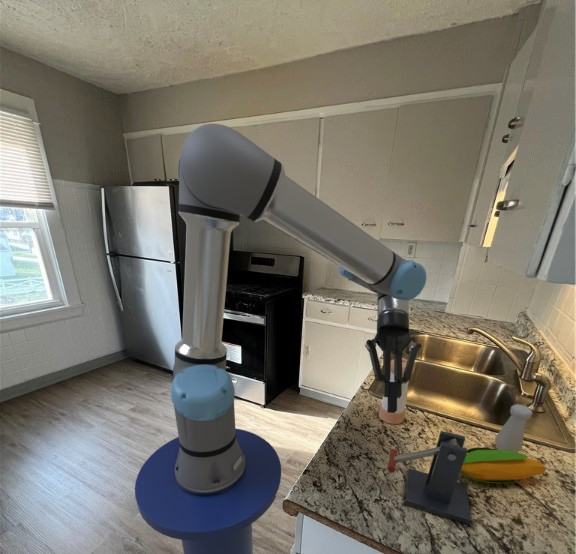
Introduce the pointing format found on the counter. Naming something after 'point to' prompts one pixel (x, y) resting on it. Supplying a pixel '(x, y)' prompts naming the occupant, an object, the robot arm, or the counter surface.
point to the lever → (415, 455)
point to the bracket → (441, 483)
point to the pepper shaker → (401, 402)
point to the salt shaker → (513, 429)
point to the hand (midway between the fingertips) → (392, 411)
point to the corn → (499, 465)
